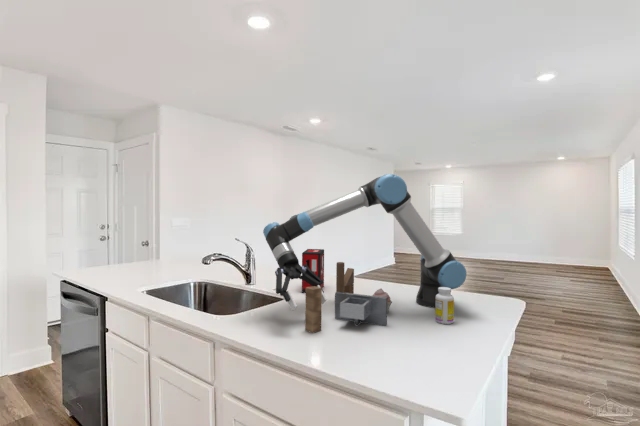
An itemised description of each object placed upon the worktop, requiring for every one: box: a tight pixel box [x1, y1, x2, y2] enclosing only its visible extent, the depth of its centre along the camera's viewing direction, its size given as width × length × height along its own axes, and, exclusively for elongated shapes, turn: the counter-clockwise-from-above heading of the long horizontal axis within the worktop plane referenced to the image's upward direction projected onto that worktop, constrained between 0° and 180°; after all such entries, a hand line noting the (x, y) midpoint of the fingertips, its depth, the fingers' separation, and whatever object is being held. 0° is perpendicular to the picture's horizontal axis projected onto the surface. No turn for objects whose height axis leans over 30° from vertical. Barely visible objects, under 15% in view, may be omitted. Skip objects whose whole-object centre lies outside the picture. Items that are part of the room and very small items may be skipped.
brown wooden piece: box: [335, 261, 355, 294], centre depth 168 cm, size 4×11×18 cm, turn 143°
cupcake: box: [371, 287, 393, 315], centre depth 149 cm, size 9×9×10 cm
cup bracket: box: [334, 291, 388, 327], centre depth 134 cm, size 20×11×10 cm, turn 66°
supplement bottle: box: [434, 287, 455, 325], centre depth 138 cm, size 7×7×13 cm
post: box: [304, 286, 323, 334], centre depth 128 cm, size 4×4×15 cm
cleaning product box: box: [301, 248, 325, 294], centre depth 188 cm, size 16×9×20 cm, turn 172°
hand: (310, 305), depth 128 cm, fingers open, 13 cm apart
